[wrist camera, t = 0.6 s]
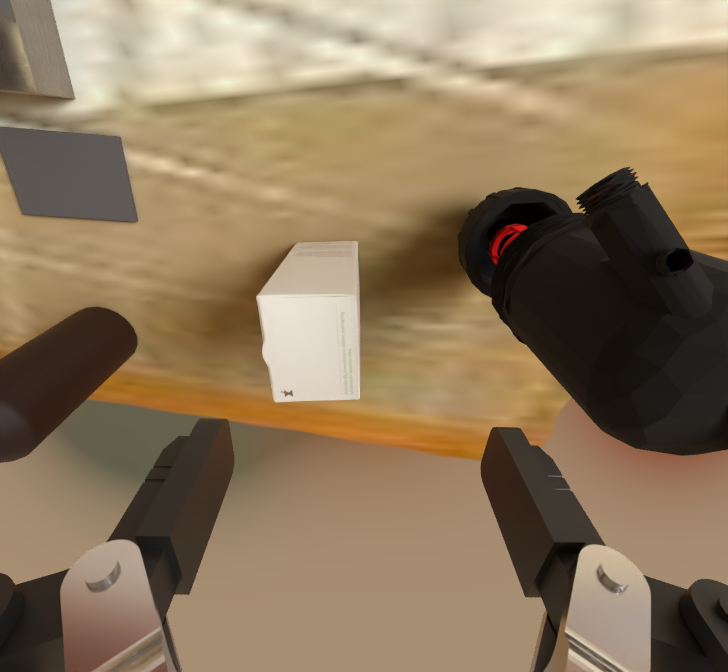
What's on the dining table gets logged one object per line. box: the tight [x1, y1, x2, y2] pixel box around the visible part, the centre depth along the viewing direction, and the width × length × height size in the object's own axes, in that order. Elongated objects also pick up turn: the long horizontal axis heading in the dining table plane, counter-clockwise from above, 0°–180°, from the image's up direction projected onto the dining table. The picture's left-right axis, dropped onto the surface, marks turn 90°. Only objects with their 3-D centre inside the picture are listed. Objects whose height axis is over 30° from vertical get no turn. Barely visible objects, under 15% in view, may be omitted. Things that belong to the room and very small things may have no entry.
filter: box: [457, 167, 728, 456], centre depth 22 cm, size 14×9×30 cm
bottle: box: [0, 307, 137, 463], centre depth 31 cm, size 7×7×20 cm
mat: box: [0, 127, 138, 222], centre depth 32 cm, size 7×10×1 cm
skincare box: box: [256, 241, 360, 402], centre depth 30 cm, size 8×7×16 cm
